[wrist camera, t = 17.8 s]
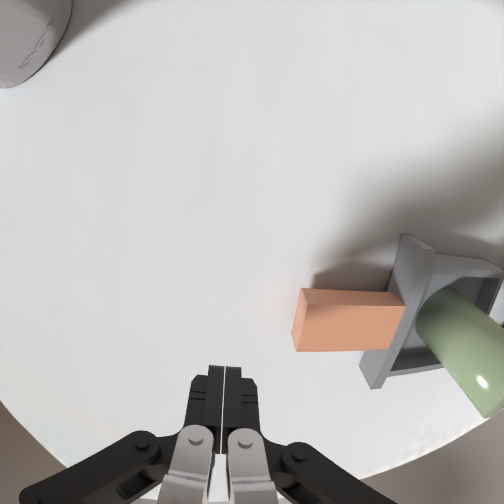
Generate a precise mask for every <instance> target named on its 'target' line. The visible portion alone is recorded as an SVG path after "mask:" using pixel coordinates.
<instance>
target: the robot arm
mask: <svg viewBox="0 0 504 504" xmlns="http://www.w3.org/2000/svg"><path fill="white" fill-rule="evenodd" d="M71 8H72V1H71V0H0V88H12V87H14V86H17V85H19V84H21V83H22V82H24V81H25V80H27V79H28V78H29V77H30V76H32V75H33V74H34V73H35V72H36V71H37V70H38V69H39V68H40V67H41V66H42V65H43V64H44V62H45V61H46V60H47V59H48V57H49V56H50V55H51V53H52V52H53V51H54V49H55V47H56V46H57V44H58V42H59V41H60V39H61V37H62V35H63V33H64V31H65V29H66V27H67V24H68V21H69V18H70V15H71ZM223 384H224V366H215V365H209V370H208V376H206V375H197V376H196V377H195V378H194V379H193V381H192V382H191V387H190V393H189V399H188V404H187V410H186V416H185V422H184V426H183V428H182V429H181V430H180V431H179V432H178V433H176V434H174V435H171V436H164V437H156V436H155V435H154V434H152V433H150V432H148V431H142V430H141V431H135V432H132V433H130V434H129V435H127V436H125V437H124V438H122V439H120V440H119V441H117V442H115V443H113V444H112V445H110V446H108V447H106V448H105V449H103V450H101V451H99V452H97V453H96V454H94V455H92V456H90V457H88V458H86V459H85V460H83V461H81V462H79V463H77V464H75V465H73V466H71V467H69V468H67V469H65V470H63V471H61V472H59V473H57V474H55V475H53V476H51V477H49V478H46V479H44V480H42V481H40V482H38V483H36V484H33V485H31V486H29V487H26V488H24V489H23V490H22V491H21V493H20V495H19V502H20V504H130V503H132V502H133V501H135V500H136V499H138V498H140V497H141V496H143V495H144V494H146V493H147V492H149V491H150V490H151V489H153V488H154V487H156V486H157V485H159V484H160V483H162V485H161V489H160V492H159V496H158V500H157V504H208V500H209V493H210V487H211V480H212V474H213V467H214V465H215V454H220V442H221V422H222V402H223ZM222 454H226V482H227V494H228V504H279V503H278V497H277V492H276V490H277V491H278V492H279V493H280V494H281V495H282V496H284V497H285V498H286V499H288V501H290V502H291V503H292V504H397V503H395V502H394V501H392V500H390V499H389V498H387V497H385V496H384V495H382V494H380V493H379V492H377V491H375V490H374V489H372V488H371V487H369V486H367V485H366V484H364V483H363V482H361V481H360V480H358V479H357V478H355V477H354V476H352V475H351V474H349V473H348V472H346V471H345V470H344V469H342V468H341V467H339V466H338V465H336V464H335V463H334V462H332V461H331V460H329V459H328V458H327V457H325V456H324V455H323V454H321V453H320V452H319V451H317V450H316V449H315V448H313V447H312V446H311V445H309V444H307V443H303V442H294V443H291V444H289V445H287V446H284V445H280V444H276V443H273V442H270V441H269V440H267V439H266V438H265V437H264V436H263V435H262V433H261V431H260V422H259V408H258V394H257V386H256V384H255V383H254V381H253V379H251V378H241V367H228V366H226V372H225V388H224V407H223V429H222Z"/></svg>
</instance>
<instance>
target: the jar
mask: <svg viewBox="0 0 504 504" xmlns="http://www.w3.org/2000/svg"><path fill="white" fill-rule="evenodd" d="M415 329H416V333H417V335H418V336H419V337H420V338H421V339H422V341H423V342H424V343H425V344H426V345H427V347H428V348H429V349H430V350H431V351H432V353H433V354H434V355H435V356H436V357H437V359H438V360H439V361H440V362H441V363H442V365H443V366H444V367H445V368H446V370H447V371H448V372H449V373H450V375H451V376H452V377H453V378H454V380H455V381H456V382H457V384H458V385H459V386H460V387H461V389H462V390H463V391H464V393H465V394H466V395H467V397H468V398H469V399H470V401H471V402H472V403H473V405H474V406H475V407H476V409H477V410H478V411H479V413H480V414H481V415H482V417H483V418H489V417H491V416H493V415H495V414H496V413H498V412H499V411H500V410H501V409H503V408H504V328H502V327H501V326H500V325H499V324H498V323H497V322H495V321H494V320H493V319H492V318H491V317H489V316H488V315H487V314H486V313H485V312H483V311H482V310H481V309H480V308H478V307H477V306H476V305H475V304H474V303H472V302H471V301H470V300H468V299H467V298H466V297H465V296H463V295H462V294H461V293H459V292H458V291H457V290H456V289H454V288H451V287H445V288H442V289H439V290H438V291H436V292H435V293H433V294H432V295H431V296H430V297H429V298H428V299H427V300H426V301H425V303H424V304H423V305H422V307H421V309H420V311H419V313H418V315H417V318H416V323H415Z"/></svg>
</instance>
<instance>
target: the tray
mask: <svg viewBox="0 0 504 504" xmlns="http://www.w3.org/2000/svg"><path fill="white" fill-rule="evenodd" d="M436 252H437V250H435V249H434V248H432V247H430V246H429V245H427V244H426V243H424V242H422V241H421V240H419V239H418V238H416V237H414V236H411V235H404V234H402V238H401V242H400V246H399V250H398V254H397V258H396V261H395V265H394V268H393V272H392V275H391V279H390V282H389V285H388V288H387V291H386V292H374V291H349V290H328V289H310V288H301V290H300V295H299V300H298V305H297V310H296V314H295V319H294V323H293V328H292V332H291V334H292V338H293V341H294V345H295V349H296V352H327V351H359V350H365V352H364V355H363V357H362V359H361V362H360V364H359V367H360V369H361V371H362V373H363V375H364V377H365V379H366V381H367V383H368V385H369V387H370V389H378V388H381V387H382V385H383V383H384V382H385V380H386V378H387V377H389V376H397V375H404V374H411V373H417V372H423V371H429V370H434V369H439V368H444V366H443V365H442V363H441V362H440V361H439V360H438V359H437V357H436V356H435V355H434V354H433V353H432V351H431V350H430V349H429V348H428V347H427V345H426V344H425V343H424V342H423V341H422V339H421V338H420V337H419V336H418V335H417V333H416V329H415V323H416V318H417V315H418V313H419V311H420V309H421V307H422V305H423V304H424V303H425V301H426V300H427V299H428V298H429V297H430V296H431V295H432V294H433V293H435V292H436V291H438V290H439V289H442V288H445V287H451V288H454V289H456V290H457V291H458V292H459V293H461V294H462V295H463V296H465V297H466V298H467V299H468V300H470V301H471V302H472V303H474V304H475V305H476V306H477V307H478V308H480V309H481V310H482V311H483V312H485V313H486V314H487V315H488V316H489V314H490V311H491V309H492V307H493V304H494V302H495V299H496V297H497V294H498V292H499V289H500V287H501V284H502V281H503V278H504V271H503V270H502V269H500V268H499V267H497V266H495V265H494V264H492V263H491V262H489V261H487V260H484V259H476V258H469V257H461V256H453V255H445V254H437V253H436Z"/></svg>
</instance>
